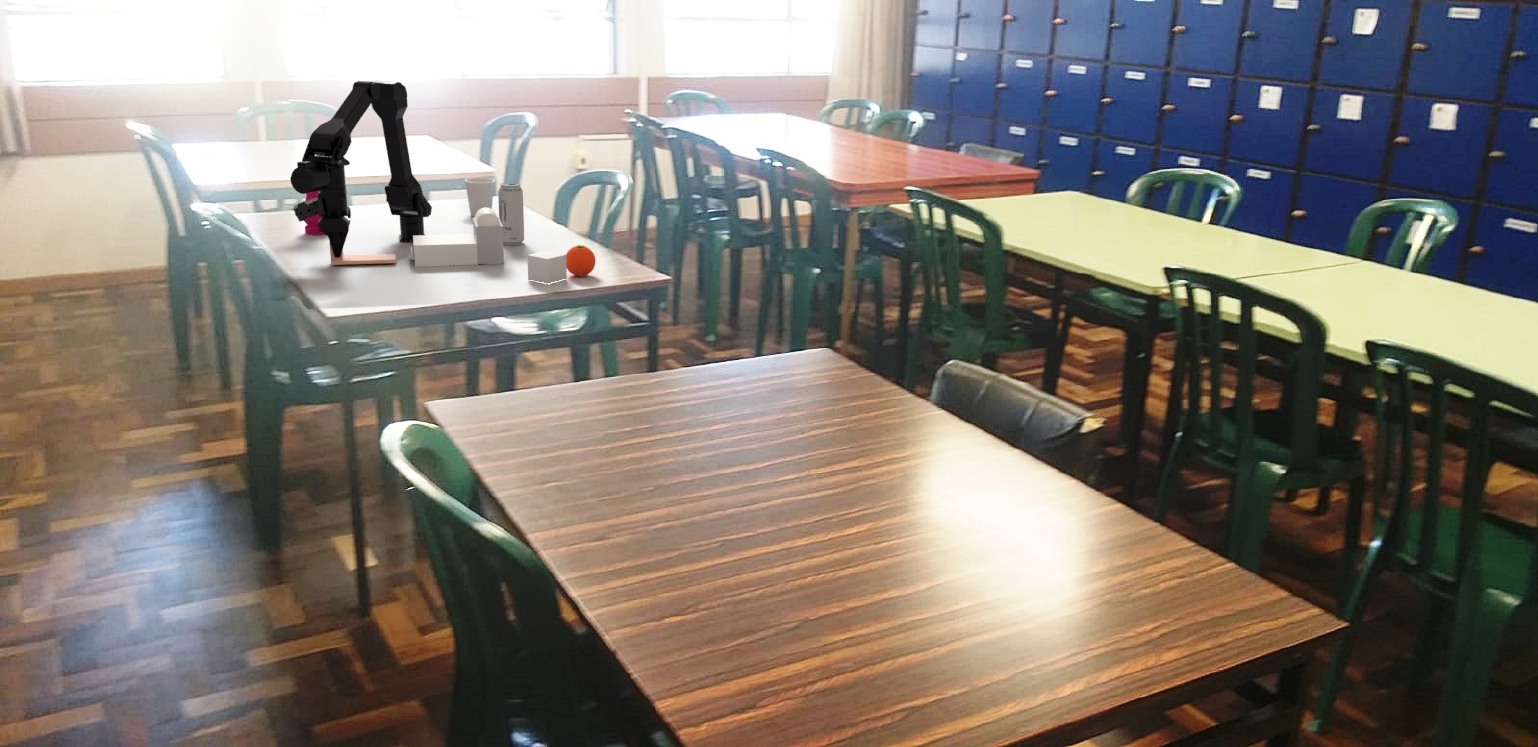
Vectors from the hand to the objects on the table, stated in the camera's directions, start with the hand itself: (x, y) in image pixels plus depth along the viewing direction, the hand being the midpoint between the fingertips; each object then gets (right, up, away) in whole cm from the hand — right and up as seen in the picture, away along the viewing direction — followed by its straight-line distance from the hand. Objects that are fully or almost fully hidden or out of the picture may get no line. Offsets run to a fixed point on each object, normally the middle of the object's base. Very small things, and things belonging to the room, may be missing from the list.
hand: (337, 255), depth 264 cm
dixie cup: (+17, +17, +62) cm, 66 cm away
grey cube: (+49, -7, -7) cm, 50 cm away
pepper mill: (-17, +9, +31) cm, 37 cm away
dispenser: (+25, 0, +8) cm, 27 cm away
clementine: (+56, -5, -1) cm, 56 cm away
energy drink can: (+34, +6, +28) cm, 44 cm away
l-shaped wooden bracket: (+5, -1, +2) cm, 6 cm away
